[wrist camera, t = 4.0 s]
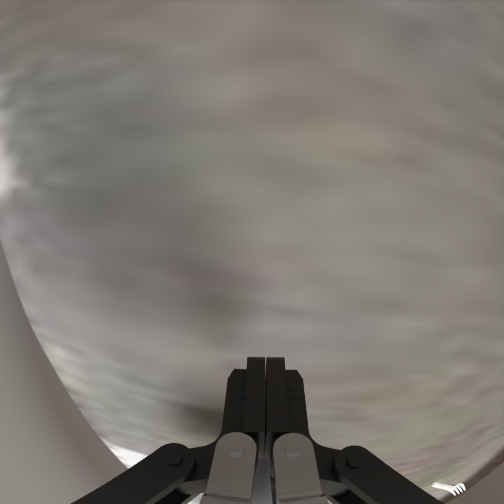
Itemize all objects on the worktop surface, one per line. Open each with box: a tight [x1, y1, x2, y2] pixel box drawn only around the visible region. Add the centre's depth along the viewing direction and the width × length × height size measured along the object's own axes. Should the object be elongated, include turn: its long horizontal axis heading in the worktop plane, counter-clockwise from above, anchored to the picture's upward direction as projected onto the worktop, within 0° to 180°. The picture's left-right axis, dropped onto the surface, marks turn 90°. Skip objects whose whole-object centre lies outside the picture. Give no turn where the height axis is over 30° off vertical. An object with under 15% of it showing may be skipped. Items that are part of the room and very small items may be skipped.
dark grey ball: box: [252, 447, 271, 504], centre depth 15 cm, size 6×6×6 cm
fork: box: [430, 482, 465, 496], centre depth 29 cm, size 3×20×2 cm, turn 46°
